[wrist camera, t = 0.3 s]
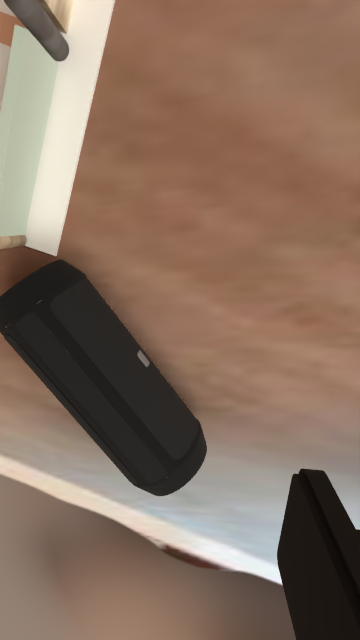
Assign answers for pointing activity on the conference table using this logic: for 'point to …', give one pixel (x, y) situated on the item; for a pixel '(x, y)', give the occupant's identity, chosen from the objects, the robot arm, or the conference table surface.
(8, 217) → the folding fence panel
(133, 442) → the portable speaker
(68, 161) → the card
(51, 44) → the fixed fence section
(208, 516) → the conference table surface
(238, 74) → the conference table surface
